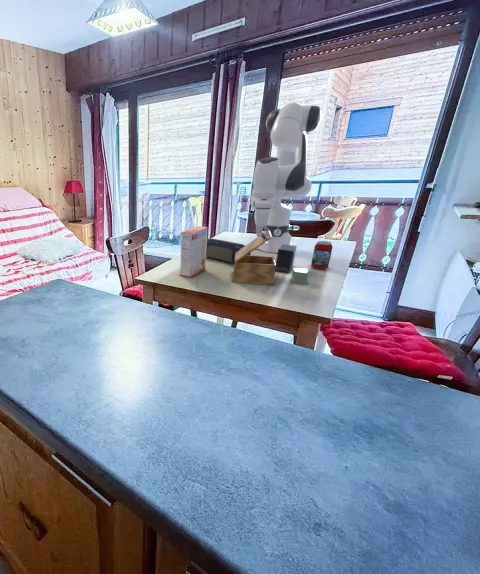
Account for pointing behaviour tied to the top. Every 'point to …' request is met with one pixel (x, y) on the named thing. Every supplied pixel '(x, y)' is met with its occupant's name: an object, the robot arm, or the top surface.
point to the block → (299, 275)
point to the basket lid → (252, 245)
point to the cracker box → (193, 251)
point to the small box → (285, 258)
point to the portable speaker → (222, 249)
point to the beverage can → (321, 255)
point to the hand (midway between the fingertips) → (258, 234)
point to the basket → (255, 270)
